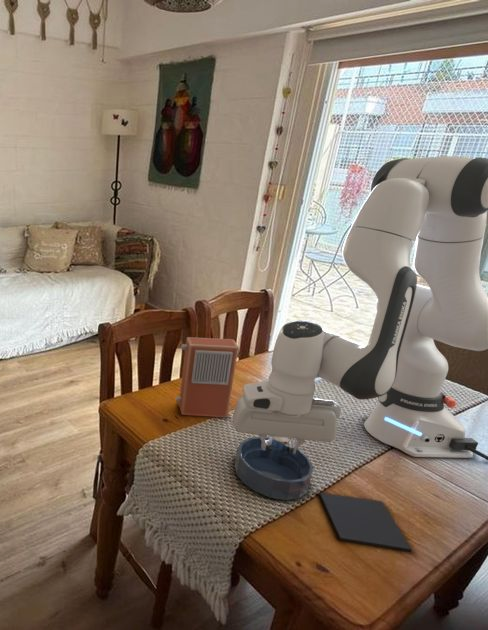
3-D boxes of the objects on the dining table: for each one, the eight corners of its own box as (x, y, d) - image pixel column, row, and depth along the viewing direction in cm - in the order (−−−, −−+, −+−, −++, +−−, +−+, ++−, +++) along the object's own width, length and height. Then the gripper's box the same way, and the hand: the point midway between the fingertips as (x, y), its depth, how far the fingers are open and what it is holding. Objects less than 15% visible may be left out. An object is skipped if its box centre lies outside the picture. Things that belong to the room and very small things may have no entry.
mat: (381, 503, 92) (381, 501, 92) (410, 551, 81) (411, 549, 81) (319, 494, 94) (319, 492, 94) (339, 540, 83) (340, 537, 83)
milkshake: (288, 475, 95) (296, 437, 92) (261, 466, 98) (268, 429, 94) (291, 463, 99) (298, 426, 95) (265, 455, 102) (272, 418, 98)
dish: (297, 459, 105) (301, 441, 103) (317, 506, 91) (322, 486, 89) (230, 450, 108) (233, 433, 106) (240, 494, 94) (244, 475, 92)
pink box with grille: (174, 403, 128) (226, 406, 126) (177, 416, 121) (232, 420, 120) (181, 335, 120) (237, 338, 119) (185, 345, 114) (244, 349, 112)
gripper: (337, 393, 93) (323, 447, 98) (236, 384, 97) (228, 436, 102) (348, 410, 87) (333, 466, 92) (240, 399, 91) (231, 453, 96)
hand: (277, 450), depth 97 cm, fingers closed on milkshake, 4 cm apart
